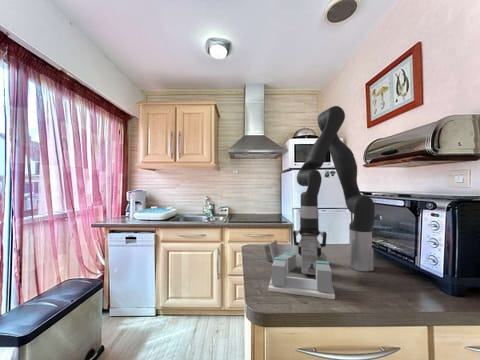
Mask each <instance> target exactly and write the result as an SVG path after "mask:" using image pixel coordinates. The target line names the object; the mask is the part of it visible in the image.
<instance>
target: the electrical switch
mask: <svg viewBox="0 0 480 360" xmlns="http://www.w3.org/2000/svg"><path fill="white" fill-rule="evenodd" d="M263 247H264V250H265V254H266V258H267V261H268V262H270V263H271V262H273V261H274V258H275V257H278V256H279V255H281V253H280V249H279V246H278V241H277V239H276V240H272V241H270V242H269V243H267V244H265V245H264V246H263Z"/></svg>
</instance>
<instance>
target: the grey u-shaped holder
mask: <svg viewBox="0 0 480 360" xmlns="http://www.w3.org/2000/svg"><path fill="white" fill-rule="evenodd" d="M287 274H288V272H287V258H283V257H275V258H274V261H272V264H271V277H270V281H269V283H268V292H276V293H283V294H289V295H290V294H293V295H298V296H299V295H300V296H306V297H315V298H322V299H330V300H336V295H335V290H334V286H333V283H332V269H331V266H330V261H316V275H315V279H314V278H313V279H312V278H303V277H295V276H293V277H292V276H287Z"/></svg>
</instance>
